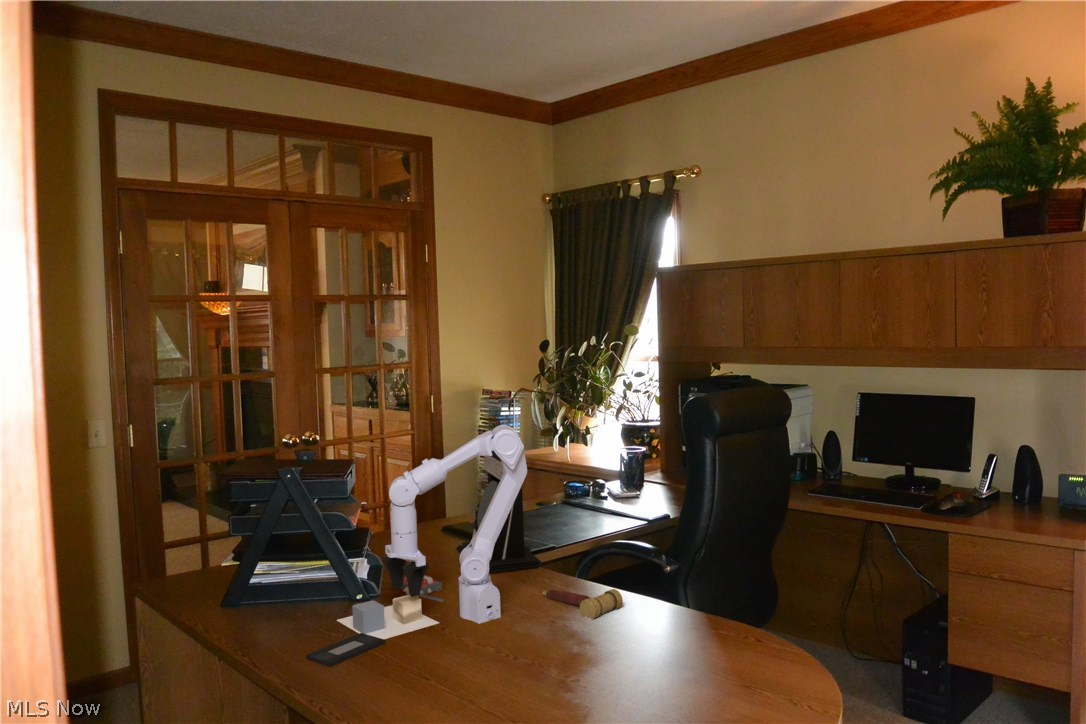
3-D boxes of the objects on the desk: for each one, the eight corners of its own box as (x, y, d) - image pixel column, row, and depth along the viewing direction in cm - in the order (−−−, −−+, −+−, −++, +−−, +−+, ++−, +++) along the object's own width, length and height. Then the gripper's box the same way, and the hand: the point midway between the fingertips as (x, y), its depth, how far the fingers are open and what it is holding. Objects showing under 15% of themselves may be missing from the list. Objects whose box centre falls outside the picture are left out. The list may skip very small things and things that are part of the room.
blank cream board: (439, 627, 183) (439, 622, 183) (374, 646, 173) (373, 642, 173) (399, 607, 197) (399, 603, 197) (336, 624, 187) (336, 620, 187)
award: (454, 548, 250) (451, 448, 248) (514, 541, 255) (511, 444, 254) (477, 576, 220) (473, 463, 219) (544, 567, 226) (541, 458, 225)
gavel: (527, 588, 199) (556, 578, 206) (529, 607, 199) (558, 597, 206) (593, 601, 184) (622, 590, 191) (595, 622, 184) (623, 610, 191)
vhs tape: (305, 664, 165) (305, 654, 165) (361, 642, 177) (361, 632, 177) (330, 673, 161) (329, 663, 161) (385, 649, 172) (385, 639, 172)
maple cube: (421, 619, 186) (421, 599, 186) (403, 624, 183) (402, 603, 183) (411, 614, 189) (410, 594, 189) (393, 619, 186) (392, 598, 186)
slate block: (384, 628, 181) (383, 605, 181) (363, 634, 178) (362, 611, 177) (374, 622, 185) (373, 600, 185) (353, 628, 182) (352, 605, 181)
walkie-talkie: (383, 594, 209) (440, 608, 197) (382, 576, 209) (439, 590, 197) (409, 584, 216) (465, 598, 204) (408, 568, 216) (465, 580, 204)
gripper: (372, 528, 188) (374, 588, 189) (404, 540, 177) (406, 603, 178) (400, 523, 193) (402, 581, 193) (433, 534, 182) (435, 596, 182)
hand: (406, 591), depth 186 cm, fingers open, 7 cm apart
